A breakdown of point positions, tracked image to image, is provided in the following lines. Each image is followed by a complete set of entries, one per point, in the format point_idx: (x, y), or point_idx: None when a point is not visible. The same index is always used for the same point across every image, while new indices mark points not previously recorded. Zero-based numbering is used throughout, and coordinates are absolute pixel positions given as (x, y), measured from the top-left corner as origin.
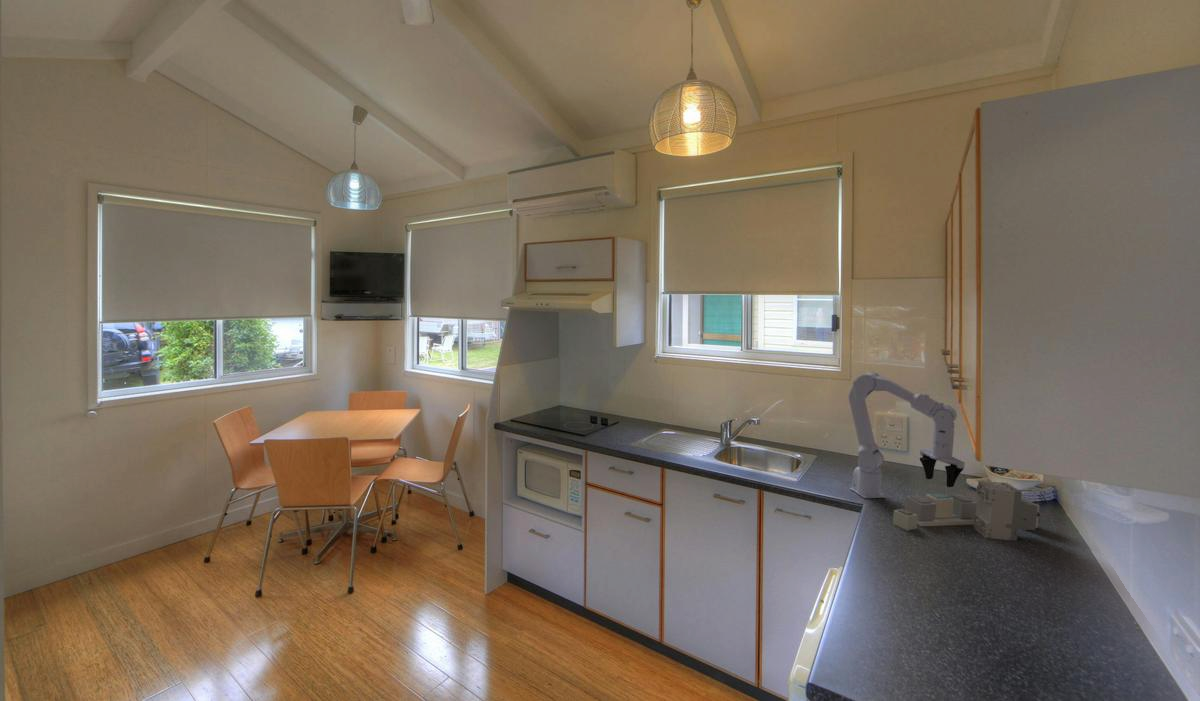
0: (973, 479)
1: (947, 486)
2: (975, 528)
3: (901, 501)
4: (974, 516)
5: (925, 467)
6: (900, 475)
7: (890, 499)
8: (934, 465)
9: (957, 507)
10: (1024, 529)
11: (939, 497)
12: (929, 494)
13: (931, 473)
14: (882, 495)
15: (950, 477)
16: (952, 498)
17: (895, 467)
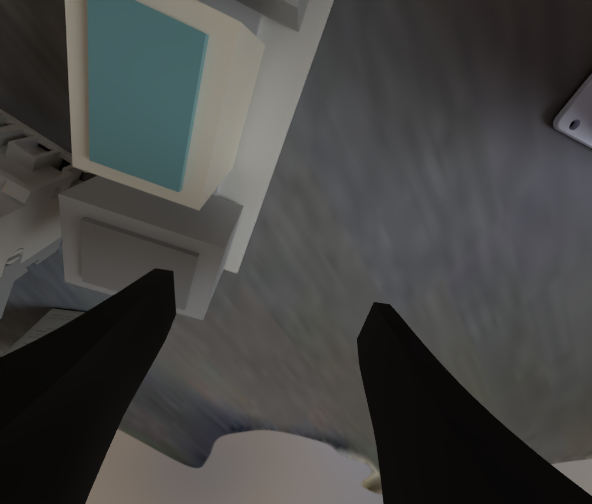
0: (367, 478)
1: (164, 270)
2: (64, 151)
3: (457, 165)
4: (43, 183)
5: (450, 405)
6: (536, 402)
7: (516, 134)
8: (384, 492)
9: (131, 191)
10: (51, 309)
11: (89, 29)
12: (221, 55)
13: (372, 375)
14: (577, 127)
15: (36, 340)
16: (84, 166)
17: (564, 437)
